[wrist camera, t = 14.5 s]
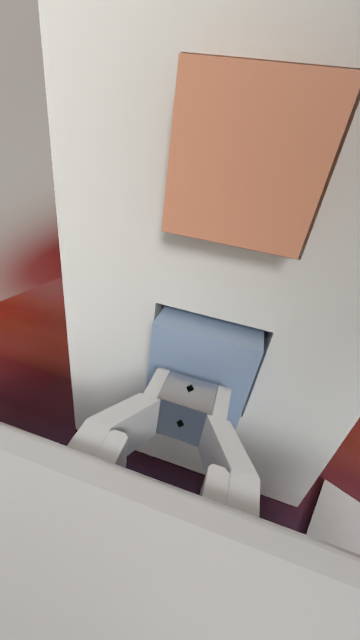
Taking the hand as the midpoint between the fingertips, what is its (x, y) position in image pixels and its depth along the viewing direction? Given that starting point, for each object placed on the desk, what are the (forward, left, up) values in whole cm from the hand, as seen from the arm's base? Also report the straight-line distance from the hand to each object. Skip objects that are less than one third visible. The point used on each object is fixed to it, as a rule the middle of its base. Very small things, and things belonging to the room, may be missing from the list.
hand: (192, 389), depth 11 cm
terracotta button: (-2, -2, +6) cm, 7 cm away
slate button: (-2, -2, -2) cm, 4 cm away
